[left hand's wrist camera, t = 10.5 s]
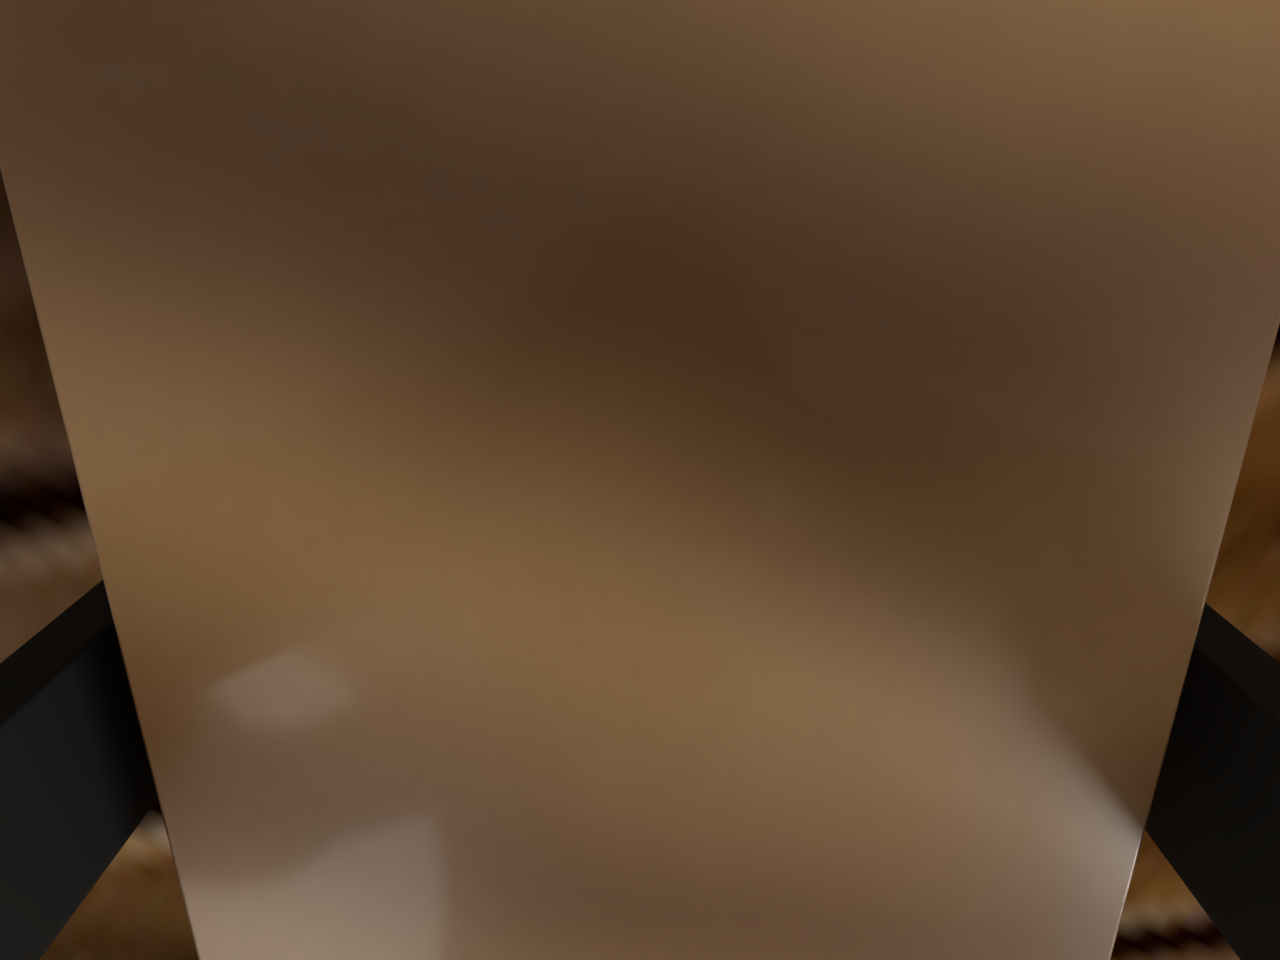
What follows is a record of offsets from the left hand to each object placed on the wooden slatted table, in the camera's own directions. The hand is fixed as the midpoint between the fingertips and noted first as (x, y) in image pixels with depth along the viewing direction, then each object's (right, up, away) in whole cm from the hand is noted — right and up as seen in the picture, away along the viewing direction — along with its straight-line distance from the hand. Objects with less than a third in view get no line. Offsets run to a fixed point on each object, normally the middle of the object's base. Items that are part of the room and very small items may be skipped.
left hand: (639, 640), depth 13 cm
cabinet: (0, +9, +5) cm, 10 cm away
